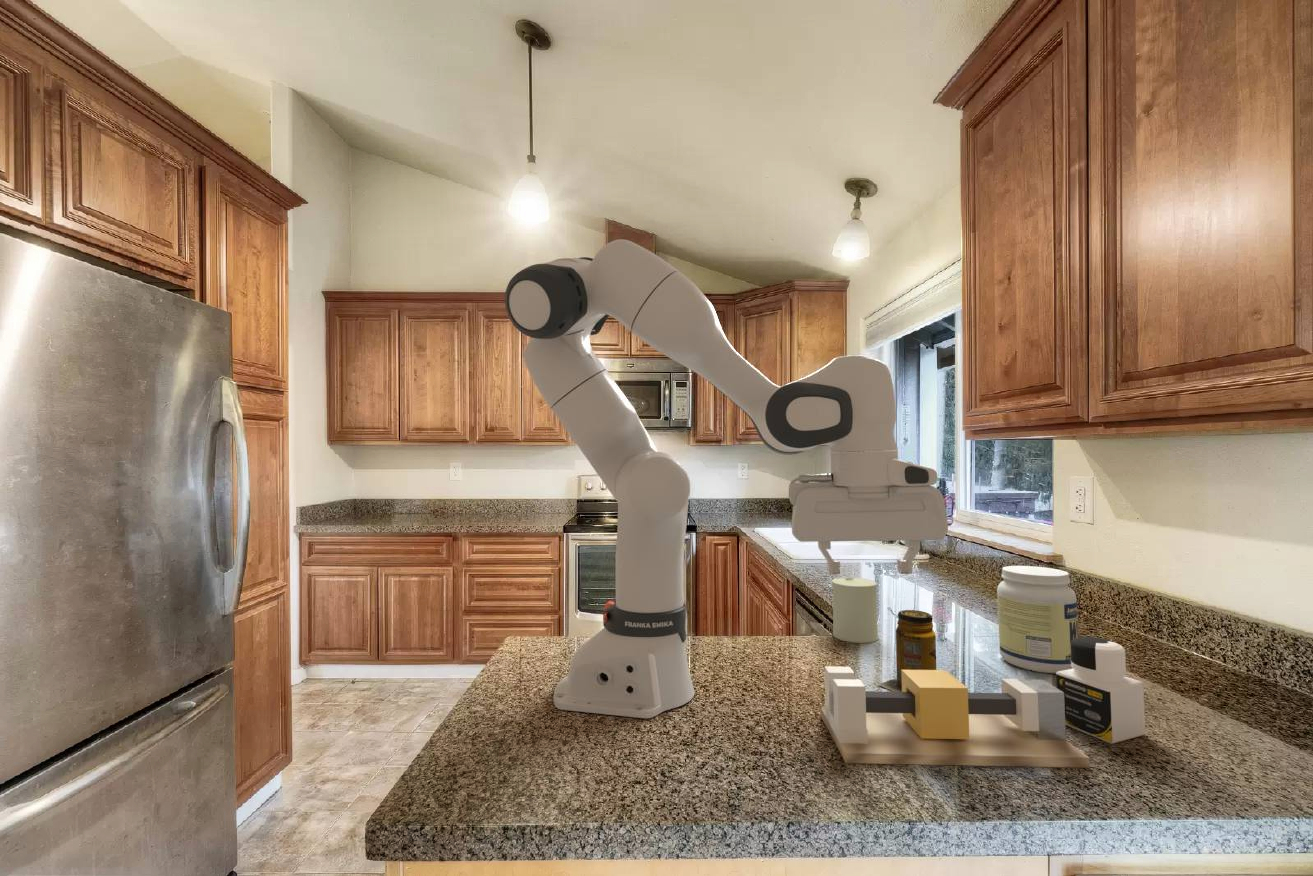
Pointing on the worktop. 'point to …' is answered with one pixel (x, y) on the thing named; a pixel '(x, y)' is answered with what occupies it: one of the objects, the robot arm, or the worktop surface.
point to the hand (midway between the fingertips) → (869, 573)
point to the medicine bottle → (1101, 692)
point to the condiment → (913, 645)
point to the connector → (1048, 710)
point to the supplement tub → (1036, 618)
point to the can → (855, 610)
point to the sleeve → (937, 704)
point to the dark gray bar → (906, 703)
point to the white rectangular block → (1022, 704)
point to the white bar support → (845, 705)
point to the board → (957, 745)
